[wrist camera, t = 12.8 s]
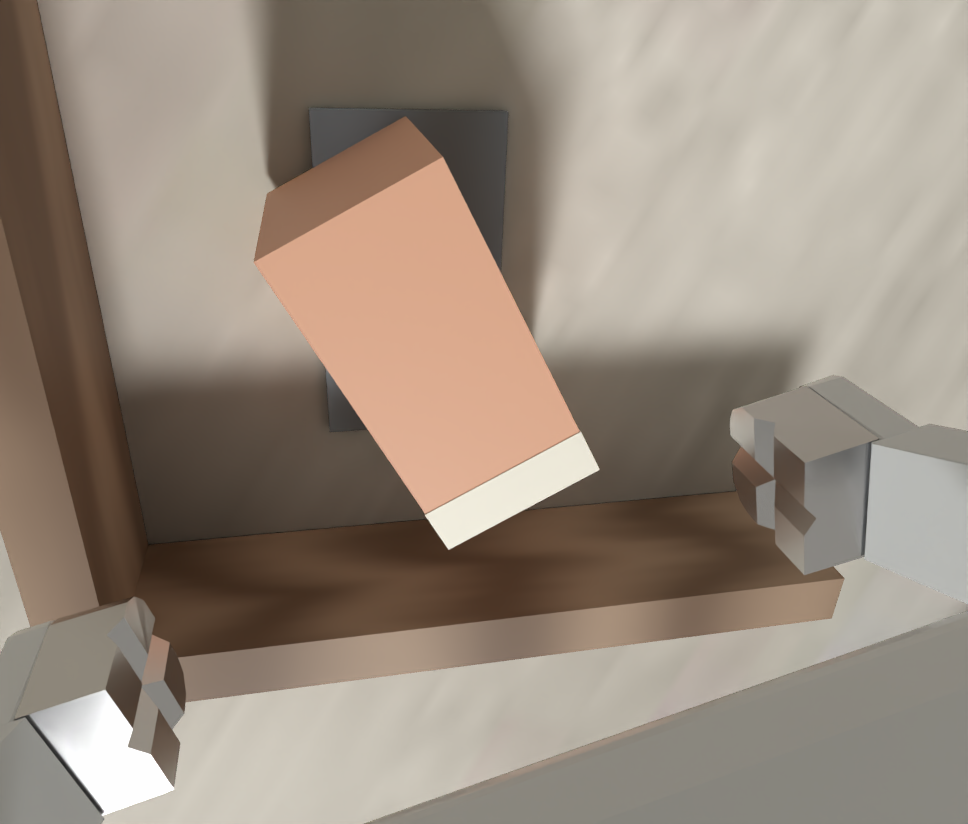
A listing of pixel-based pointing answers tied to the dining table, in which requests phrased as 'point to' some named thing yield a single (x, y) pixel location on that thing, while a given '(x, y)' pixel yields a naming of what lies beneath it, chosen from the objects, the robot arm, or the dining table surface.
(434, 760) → the dining table surface
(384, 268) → the block
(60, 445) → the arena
